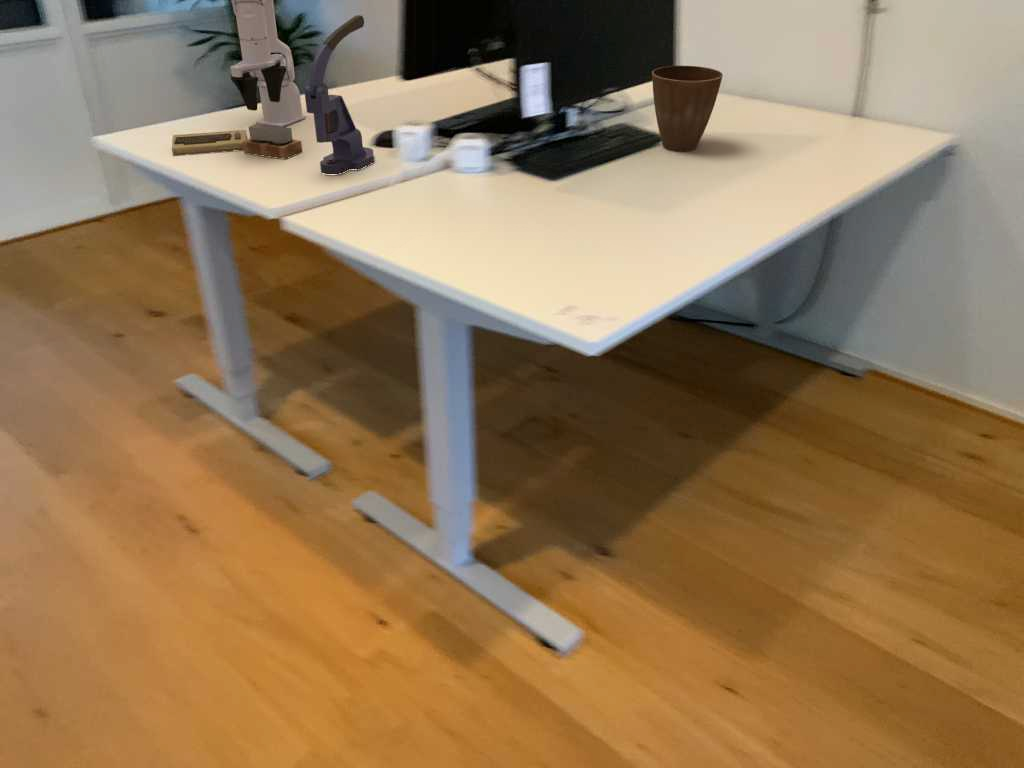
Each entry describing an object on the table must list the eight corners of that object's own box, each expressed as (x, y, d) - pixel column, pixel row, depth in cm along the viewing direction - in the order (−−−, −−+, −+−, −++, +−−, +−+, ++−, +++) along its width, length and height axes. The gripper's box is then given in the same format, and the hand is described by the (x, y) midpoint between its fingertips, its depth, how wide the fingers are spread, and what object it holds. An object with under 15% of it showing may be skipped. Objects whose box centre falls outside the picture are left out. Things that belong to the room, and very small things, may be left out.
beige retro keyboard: (173, 158, 184) (170, 142, 182) (175, 147, 191) (172, 132, 189) (248, 152, 188) (246, 137, 186) (247, 142, 195) (245, 127, 193)
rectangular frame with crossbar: (261, 145, 190) (260, 134, 189) (302, 152, 187) (300, 140, 185) (244, 153, 186) (242, 141, 184) (285, 159, 182) (283, 148, 181)
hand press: (340, 180, 171) (324, 31, 156) (304, 174, 174) (285, 27, 159) (389, 155, 185) (379, 16, 170) (356, 149, 188) (343, 13, 173)
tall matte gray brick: (261, 148, 189) (257, 123, 186) (294, 153, 186) (291, 128, 183) (252, 152, 187) (248, 126, 184) (286, 157, 183) (282, 131, 180)
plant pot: (698, 161, 182) (708, 83, 174) (634, 150, 189) (641, 75, 180) (722, 144, 193) (732, 70, 185) (661, 134, 200) (668, 62, 191)
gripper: (246, 45, 167) (257, 115, 175) (291, 33, 179) (299, 99, 186) (218, 42, 170) (229, 111, 177) (264, 31, 181) (273, 96, 188)
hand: (263, 105), depth 182 cm, fingers open, 7 cm apart
